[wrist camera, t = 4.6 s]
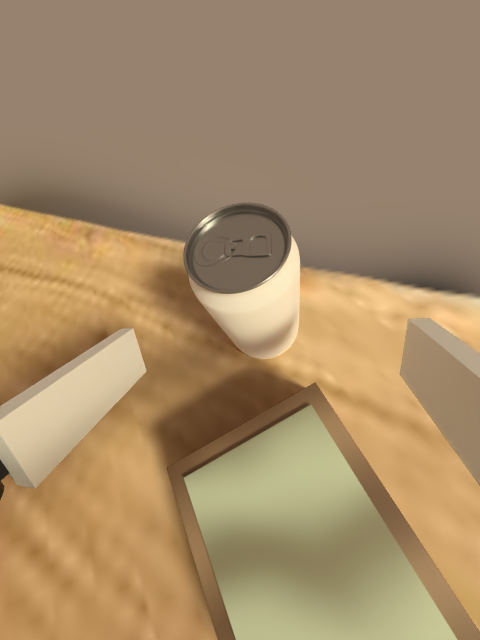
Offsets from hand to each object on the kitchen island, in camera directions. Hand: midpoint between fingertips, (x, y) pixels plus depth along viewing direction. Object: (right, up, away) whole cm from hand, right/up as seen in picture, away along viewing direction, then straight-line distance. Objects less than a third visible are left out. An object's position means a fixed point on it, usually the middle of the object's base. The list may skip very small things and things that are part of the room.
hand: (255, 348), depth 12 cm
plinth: (+3, -12, +5) cm, 14 cm away
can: (+2, +1, +11) cm, 11 cm away
